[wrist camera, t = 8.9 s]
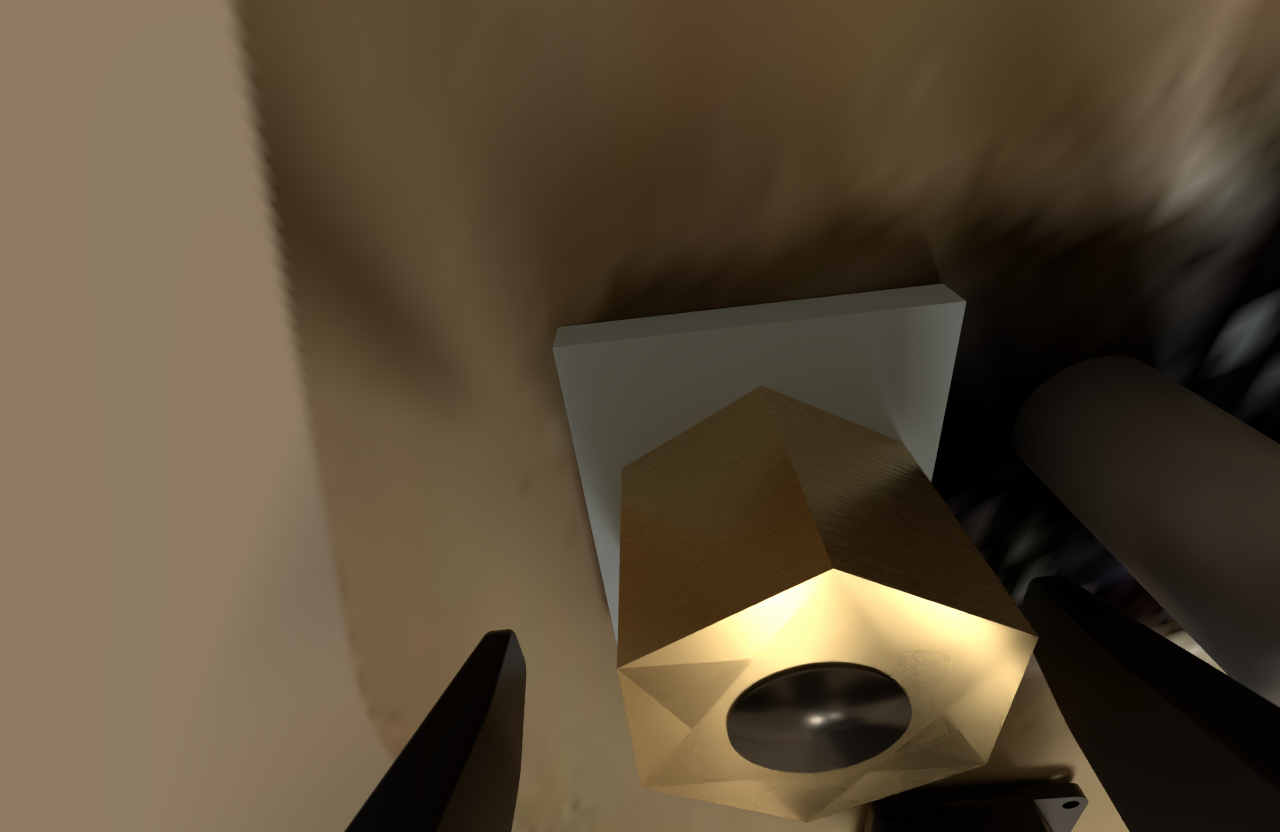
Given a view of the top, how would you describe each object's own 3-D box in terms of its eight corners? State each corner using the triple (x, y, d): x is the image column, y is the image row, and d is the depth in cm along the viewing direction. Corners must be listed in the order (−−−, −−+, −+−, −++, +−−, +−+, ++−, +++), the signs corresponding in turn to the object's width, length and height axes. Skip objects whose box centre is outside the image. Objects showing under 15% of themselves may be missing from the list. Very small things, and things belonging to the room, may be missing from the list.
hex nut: (875, 606, 12) (969, 817, 9) (645, 624, 13) (650, 837, 9) (916, 370, 9) (1079, 553, 6) (611, 400, 10) (600, 593, 6)
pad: (887, 607, 14) (901, 636, 13) (620, 630, 14) (620, 659, 13) (942, 283, 9) (966, 301, 9) (558, 327, 10) (551, 347, 9)
